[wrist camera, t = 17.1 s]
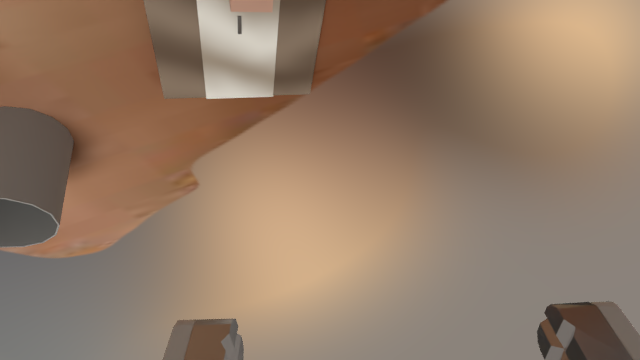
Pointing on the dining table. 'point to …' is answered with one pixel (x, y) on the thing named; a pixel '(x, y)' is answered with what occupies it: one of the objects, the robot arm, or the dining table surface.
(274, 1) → the board with dashed strip
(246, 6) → the stub
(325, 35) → the dining table surface
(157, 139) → the dining table surface
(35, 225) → the cup
